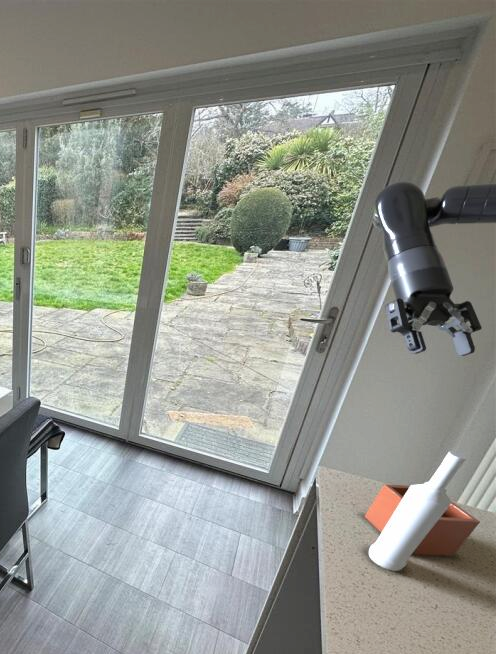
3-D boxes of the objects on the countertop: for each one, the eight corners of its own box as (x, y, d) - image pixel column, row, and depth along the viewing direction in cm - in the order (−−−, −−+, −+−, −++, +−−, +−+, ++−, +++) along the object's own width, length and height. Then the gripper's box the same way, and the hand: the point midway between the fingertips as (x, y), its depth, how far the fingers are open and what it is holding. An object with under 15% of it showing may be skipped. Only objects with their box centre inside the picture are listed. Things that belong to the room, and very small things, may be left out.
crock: (409, 518, 88) (431, 486, 84) (453, 555, 79) (480, 521, 75) (364, 516, 88) (384, 484, 84) (403, 553, 79) (427, 519, 75)
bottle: (390, 574, 75) (468, 467, 63) (360, 552, 79) (428, 447, 68) (409, 568, 76) (489, 462, 65) (379, 546, 81) (448, 443, 69)
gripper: (399, 263, 76) (423, 343, 71) (477, 266, 76) (507, 346, 71) (364, 285, 83) (384, 359, 78) (435, 287, 83) (460, 362, 78)
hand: (442, 353), depth 74 cm, fingers open, 8 cm apart
